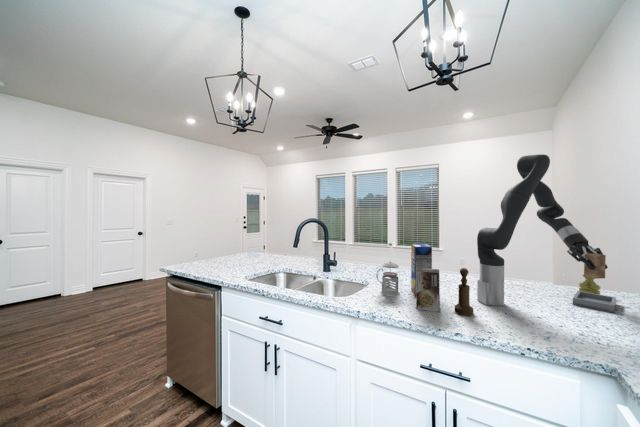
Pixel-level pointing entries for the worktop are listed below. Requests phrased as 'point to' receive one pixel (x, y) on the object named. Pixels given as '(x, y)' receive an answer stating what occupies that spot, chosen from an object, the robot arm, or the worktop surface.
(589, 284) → the olive green lumpy figure
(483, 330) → the worktop surface
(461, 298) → the brown chess piece
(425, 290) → the coffee box
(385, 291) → the french press
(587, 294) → the parts tray
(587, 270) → the block
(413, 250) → the juice carton
